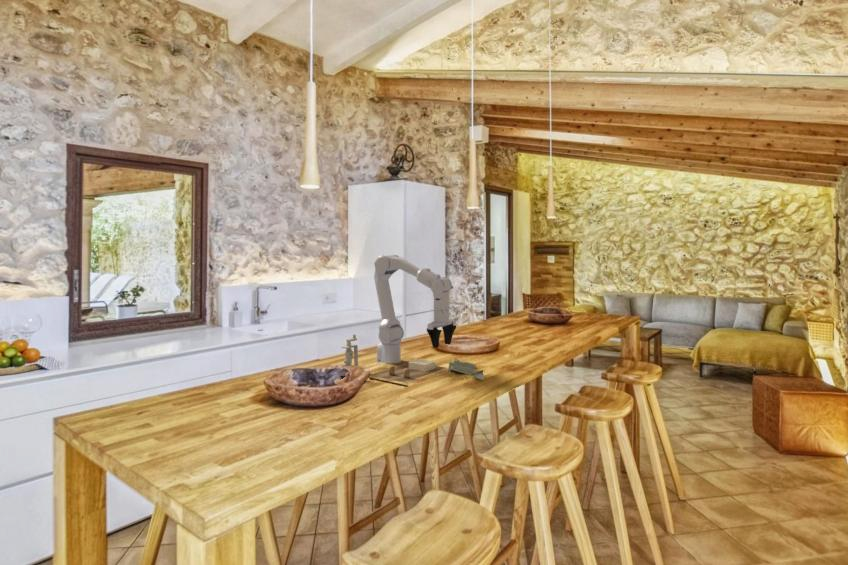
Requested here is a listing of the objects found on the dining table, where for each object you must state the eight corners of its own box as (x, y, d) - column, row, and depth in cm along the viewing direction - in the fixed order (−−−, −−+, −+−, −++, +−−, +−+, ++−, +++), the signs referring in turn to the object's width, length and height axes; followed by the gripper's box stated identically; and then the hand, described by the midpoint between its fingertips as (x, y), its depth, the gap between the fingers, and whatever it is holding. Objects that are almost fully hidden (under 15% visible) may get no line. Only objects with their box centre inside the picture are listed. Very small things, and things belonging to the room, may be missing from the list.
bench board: (369, 379, 176) (369, 366, 175) (411, 365, 195) (411, 354, 194) (405, 386, 165) (404, 373, 165) (446, 371, 184) (446, 359, 184)
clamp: (336, 379, 176) (335, 338, 175) (349, 372, 185) (348, 333, 184) (346, 380, 175) (345, 339, 173) (359, 373, 184) (358, 334, 182)
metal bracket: (449, 364, 173) (450, 355, 187) (444, 380, 173) (446, 369, 188) (488, 376, 172) (486, 365, 186) (483, 391, 172) (482, 379, 187)
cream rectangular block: (408, 368, 184) (408, 362, 184) (418, 365, 188) (418, 358, 188) (425, 371, 179) (425, 365, 179) (435, 368, 184) (435, 361, 183)
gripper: (438, 313, 174) (438, 350, 175) (461, 308, 185) (461, 343, 186) (422, 311, 178) (423, 348, 179) (446, 307, 189) (446, 341, 190)
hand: (441, 345), depth 183 cm, fingers open, 7 cm apart
